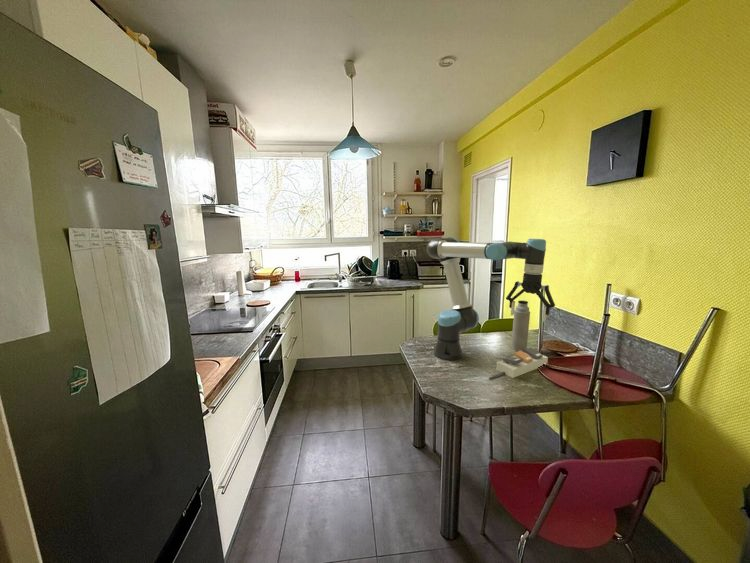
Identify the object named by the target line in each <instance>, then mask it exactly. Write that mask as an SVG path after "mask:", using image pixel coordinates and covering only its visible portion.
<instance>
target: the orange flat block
mask: <svg viewBox="0 0 750 563" xmlns="http://www.w3.org/2000/svg"><path fill="white" fill-rule="evenodd" d="M514 356H516V357H517V358H521V359H523V361H524V362H525V363H528V362H531V361H533V358H532V357H530V356H529V355H527V354H525V352H522V351H515V352H514V353H513V357H514Z"/></svg>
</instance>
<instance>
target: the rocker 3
mask: <svg viewBox="0 0 750 563" xmlns="http://www.w3.org/2000/svg"><path fill="white" fill-rule="evenodd" d="M524 353H527V354H528V355H530V356H531V357H533V358H535V359H539V358H542V356H543V355H544V354H543V353H540V352H539V351H537V350H535V349H533V348H532V347H527V349H524Z"/></svg>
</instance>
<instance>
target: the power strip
mask: <svg viewBox="0 0 750 563" xmlns="http://www.w3.org/2000/svg"><path fill="white" fill-rule="evenodd" d="M524 353H525V352H524ZM525 354H527V353H525ZM527 355H528V354H527ZM542 355H543V356H542V358H539V359H535V358H533V357H532V358H533V361H531V362H528V363H525V362H524V361H523V362H521V363H518V364H513V363H508V362H503V359H501V360H500V361H496V368H495V369H496V371H498V372H500V373H497V374H493V375H491V376H489V377H488V379H489V380H492V379H494V378H497V377H500V376H503V375H506V376H508V377H510V378H512V379H514V378H516V377H518V376H521V375H523V374H527V373H530V372H532V371H534V370H535V371H536V370H537V369H539V368H538V367H540V366H542V365H543V364H544V363H547V364H548V361H549V360H548V359H549V357H548V356H546V355H545V354H542ZM529 356H530V355H529ZM513 357H516V356H514V355H513ZM530 357H531V356H530ZM516 358H517V357H516ZM542 367H543V366H542ZM540 368H541V367H540Z"/></svg>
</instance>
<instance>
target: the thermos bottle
mask: <svg viewBox="0 0 750 563" xmlns="http://www.w3.org/2000/svg"><path fill="white" fill-rule="evenodd" d="M528 304H529V301H527V300H518V301H517V305H515V309H514V315H513V322H512V330H511V331H512V334H511V343H510V344H511V346H510V348H511V349H512V350H513V351H515V352H518V351H522V352H524V349H527V348H528V340H529V339H528V338H529V326H530V320H531V319H530V318H531V311H530V307H529V306H528ZM524 353H525V352H524Z"/></svg>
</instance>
